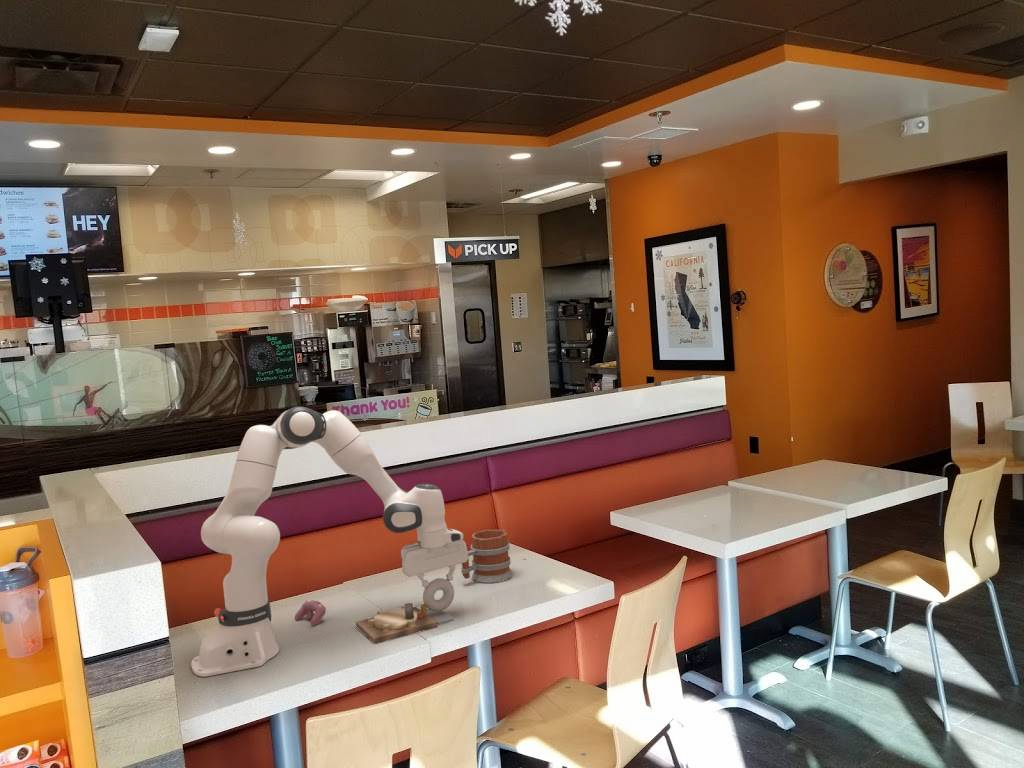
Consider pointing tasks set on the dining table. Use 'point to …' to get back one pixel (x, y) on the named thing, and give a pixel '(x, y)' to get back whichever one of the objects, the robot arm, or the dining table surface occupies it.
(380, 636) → the wheel base
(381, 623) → the index wheel
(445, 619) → the donut mat
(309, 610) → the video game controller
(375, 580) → the dining table surface
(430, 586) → the donut
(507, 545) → the mug
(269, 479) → the robot arm
